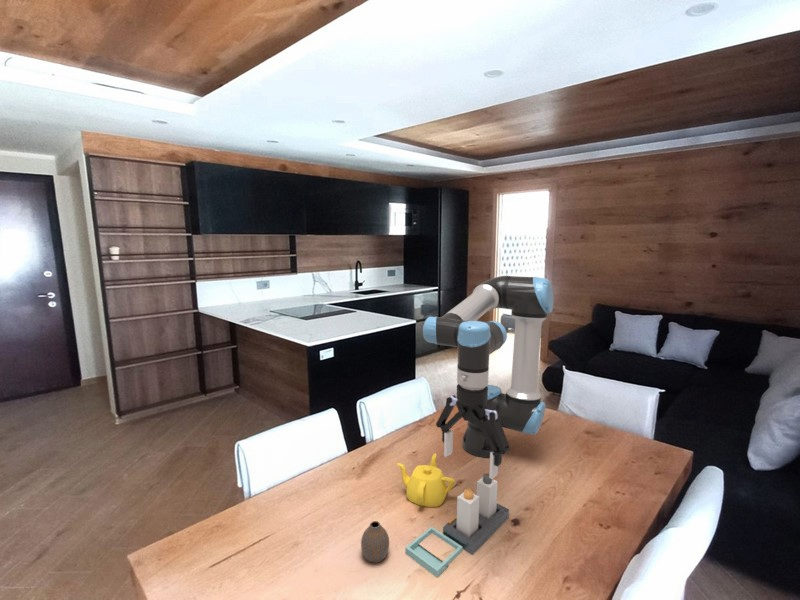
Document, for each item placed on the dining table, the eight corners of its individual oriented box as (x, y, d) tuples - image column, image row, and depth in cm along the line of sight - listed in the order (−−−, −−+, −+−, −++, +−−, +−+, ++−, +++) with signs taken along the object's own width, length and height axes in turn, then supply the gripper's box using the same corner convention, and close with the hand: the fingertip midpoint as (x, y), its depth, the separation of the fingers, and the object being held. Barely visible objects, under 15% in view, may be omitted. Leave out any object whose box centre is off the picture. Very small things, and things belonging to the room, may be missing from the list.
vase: (361, 546, 99) (360, 515, 98) (388, 544, 100) (388, 513, 98) (361, 568, 92) (360, 535, 91) (390, 566, 93) (390, 533, 92)
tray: (405, 554, 97) (405, 547, 96) (431, 533, 104) (431, 526, 103) (437, 578, 90) (437, 571, 89) (462, 554, 97) (462, 546, 97)
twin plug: (475, 518, 108) (477, 476, 106) (483, 510, 111) (485, 470, 109) (488, 525, 105) (490, 482, 103) (496, 517, 108) (497, 476, 106)
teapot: (435, 479, 127) (435, 451, 125) (457, 505, 115) (458, 474, 113) (396, 490, 121) (396, 461, 120) (415, 518, 109) (416, 486, 108)
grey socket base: (442, 539, 102) (443, 525, 101) (480, 505, 115) (481, 493, 114) (472, 558, 96) (472, 544, 95) (508, 521, 108) (509, 508, 108)
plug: (456, 535, 102) (457, 491, 100) (465, 527, 104) (466, 484, 103) (469, 543, 99) (470, 498, 97) (477, 535, 102) (479, 491, 100)
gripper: (423, 376, 102) (422, 452, 105) (511, 404, 84) (507, 493, 88) (441, 369, 107) (440, 441, 110) (527, 394, 90) (522, 479, 93)
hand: (469, 465), depth 99 cm, fingers open, 13 cm apart
